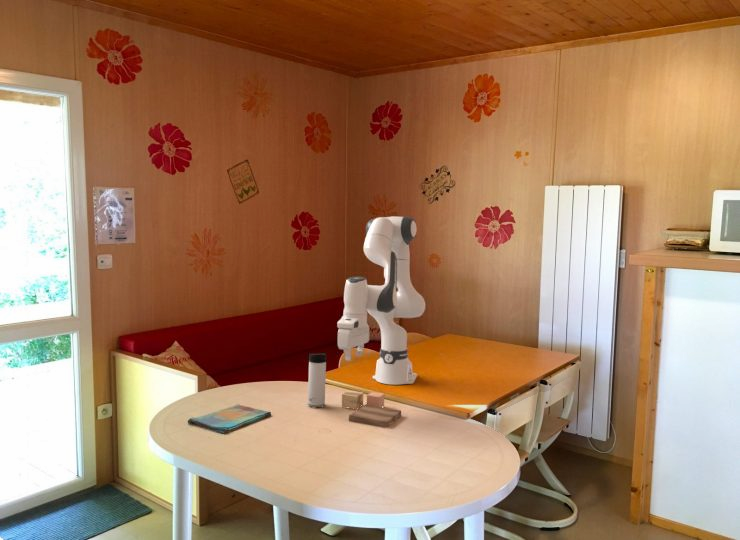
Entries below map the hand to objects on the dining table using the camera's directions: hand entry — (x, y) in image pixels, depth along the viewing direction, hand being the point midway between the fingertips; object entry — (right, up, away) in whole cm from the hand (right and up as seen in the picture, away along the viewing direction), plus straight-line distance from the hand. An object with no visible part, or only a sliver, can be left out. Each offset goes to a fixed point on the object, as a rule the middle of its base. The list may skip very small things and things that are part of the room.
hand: (353, 358), depth 220 cm
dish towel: (-41, -19, -18) cm, 49 cm away
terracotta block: (+8, -19, +1) cm, 20 cm away
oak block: (0, -18, +1) cm, 18 cm away
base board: (+8, -19, -12) cm, 24 cm away
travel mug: (-14, -18, +1) cm, 23 cm away
